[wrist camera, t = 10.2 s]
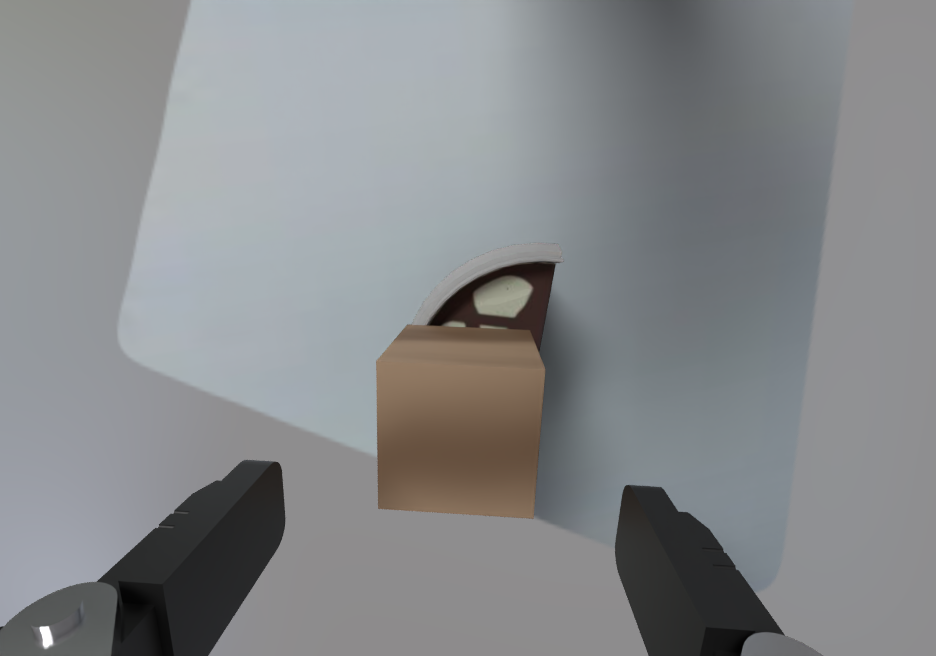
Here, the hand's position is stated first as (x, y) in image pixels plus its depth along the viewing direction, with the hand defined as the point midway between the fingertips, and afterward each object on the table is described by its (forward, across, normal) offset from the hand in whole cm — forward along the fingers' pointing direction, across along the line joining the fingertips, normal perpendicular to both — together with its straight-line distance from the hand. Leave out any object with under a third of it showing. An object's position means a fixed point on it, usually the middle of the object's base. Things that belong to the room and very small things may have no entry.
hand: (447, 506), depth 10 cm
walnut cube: (+8, 0, 0) cm, 8 cm away
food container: (+18, 0, 0) cm, 19 cm away
